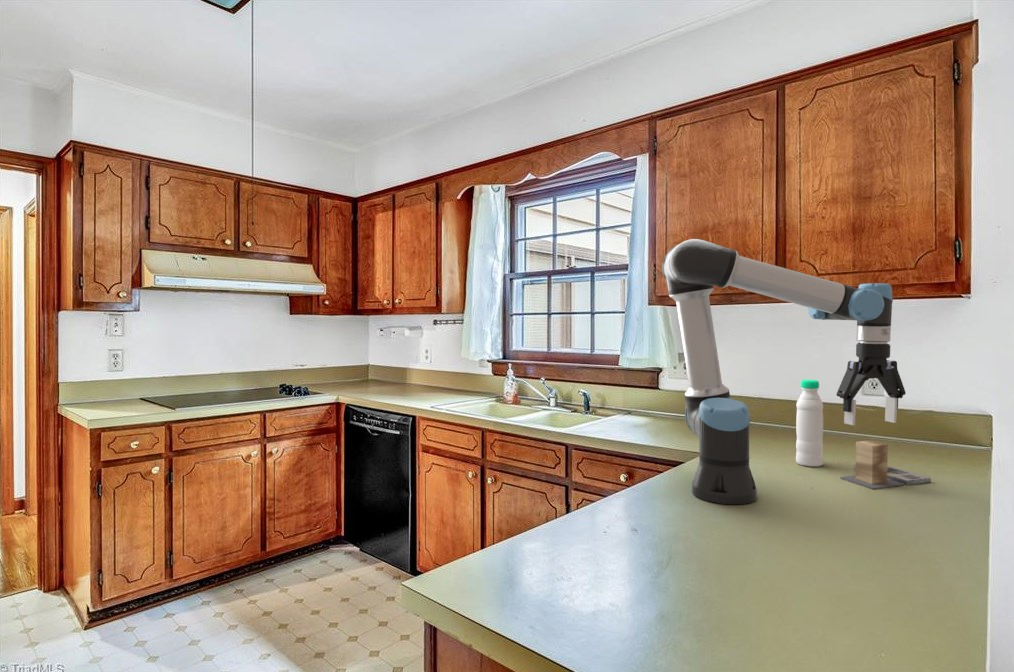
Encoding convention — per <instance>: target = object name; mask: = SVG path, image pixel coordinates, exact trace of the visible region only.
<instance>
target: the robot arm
mask: <svg viewBox="0 0 1014 672" xmlns="http://www.w3.org/2000/svg"><path fill="white" fill-rule="evenodd" d="M662 274H663V277H664V278H665V281H666V284H667V291H668V296H669V297H670V299H673V300H674V302H675V303H676V309H677V316H678V325H679V328H680V329H679V330H680V335H681V336H680V337H681V343H682V348H683V357H684V361H685V368H686V374H687V375H686V376H687V382H688V389H686V391H685V392H684V399H685V411H684V417H685V422H686V425H687V427H688V429H689V430H690V431H691V433H693V434H694V435H695V436H696V437H697V438H698V440H699V442H698V443H699V447H698V448H699V449H698V452H699V454H698V455H699V457H698V458H699V461H698V466H697V468H696V470H695V471H696V472H695V475H694V478H693V481H692V482H691V493H692V494H693V496H695V497H697V498H698V499H700V498H701V499H700V500H703V501H707V502H710V501H711V503H714V502H715V503H716V504H720V505H721V504H722V505H746V504H751V503H753V502H755V501H756V500H757V499H758V489H757V486H756V483H755V479H754V476H753V474H752V470H751V468H750V423H751V416H750V410H749V407H748V406H747V404H746V403H744V402H743V401H741V400H737V399H736V400H735V399H734V398H731V394H730V389H729V388H728V387H727V386H726V385H725V384H723V380H722V375H721V368H720V361H719V355H718V348H717V342H716V335H715V329H714V328H715V327H714V321H713V316H712V315H713V314H712V307H711V303H710V295H711V294H712V293H713V291H714V287H718V288H722V289H724V288H727V287H728V286H730V287H733V288H737V289H741V290H743V291H747V292H751V293H755V294H758V295H762V296H765V297H768V298H772V299H777V300H781V301H784V302H787V303H791V304H793V305H798V306H802V307H806V308H807V311H808V314H809V317H810V318H812V319H814V320H822V321H826V320H827V321H828V320H829V321H832V320H833V321H835V320H837V321H856V323H857V324H856V341H857V344H856V346H855V357H858V361H854V360H853V361H852V360H849V361H847V367H846V370H845V374H844V375H843V377H842V379H841V383H840V384H839V387H838V389H837V392H836V396H837V397H839V398H840V399H842V400H843V401H842V406H843V407H842V410H843V412H844V414H843V424H845V425H850V426H856V414H857V413H856V411H857V410H856V409H857V400H856V399H854V398H855V397H856V395H858V393H859V391H860V389H862V387H863V386H864V384H865V383H866V381H869V380H870V379H877V380H878V381H879V383H880V385H881V386H882V388H883V389H884V391H885V392H886V394H887V395H888V396H885V407H884V410H885V412H884V422H889V423H893V424H896V423H897V415H898V414H897V413H898V412H897V411H898V408H899V399H903V397H904V396H905V395H906V390H905V386H904V384H903V381H902V378H901V376H900V373H899V370H898V361H896V360H889V358H890V357H891V344H889V343H890V342H891V330H892V313H893V312H892V311H893V301H894V300H893V288H892V285H891V284H889V283H886V282H885V283H884V282H881V283H876V282H875V283H860V284H859V285H858V288H857V287H855V286H851V285H848V284H847V285H846V284H842V283H840V282H836V281H833V280H832V281H831V280H828V279H825V278H821V277H818V276H814V275H810V274H808V273H807V274H806V273H803V272H800V271H797V270H792V269H788V268H785V267H782V266H778V265H775V264H771V263H767V262H763V261H761V260H756V259H752V258H748V257H745V256H741V255H740V254H739V253H738V251H737V250H735V249H732V248H728V247H726V246H723V245H719V244H716V243H713V242H710V241H707V240H704V239H699V238H698V239H697V238H690V239H688V240H684V241H682V242H681V243H679V244H676V245H675V246H674V247H672V248H671V249H670V250H668V252H667V253H666V255H665V256H664V258H663V262H662Z"/></svg>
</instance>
